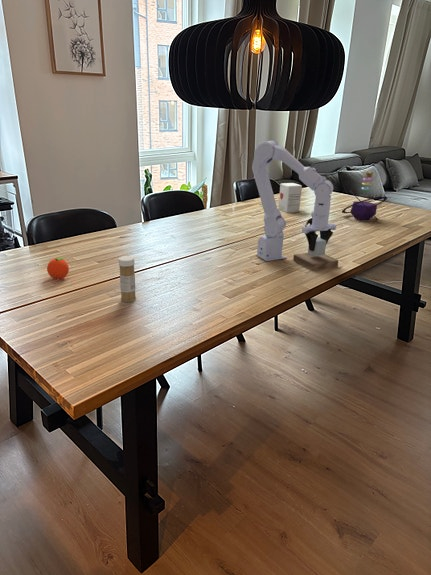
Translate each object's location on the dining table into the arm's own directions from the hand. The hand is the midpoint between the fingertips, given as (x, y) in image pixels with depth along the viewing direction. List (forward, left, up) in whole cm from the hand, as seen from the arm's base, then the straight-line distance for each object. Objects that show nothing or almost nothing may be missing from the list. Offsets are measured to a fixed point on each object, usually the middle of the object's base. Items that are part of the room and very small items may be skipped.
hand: (316, 249), depth 169 cm
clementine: (-91, +21, -6) cm, 94 cm away
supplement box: (+43, +79, -6) cm, 90 cm away
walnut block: (0, 0, -6) cm, 6 cm away
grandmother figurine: (+21, +29, -6) cm, 36 cm away
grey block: (0, 0, -2) cm, 2 cm away
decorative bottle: (+69, +48, -6) cm, 84 cm away
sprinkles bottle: (-75, -5, -6) cm, 75 cm away
